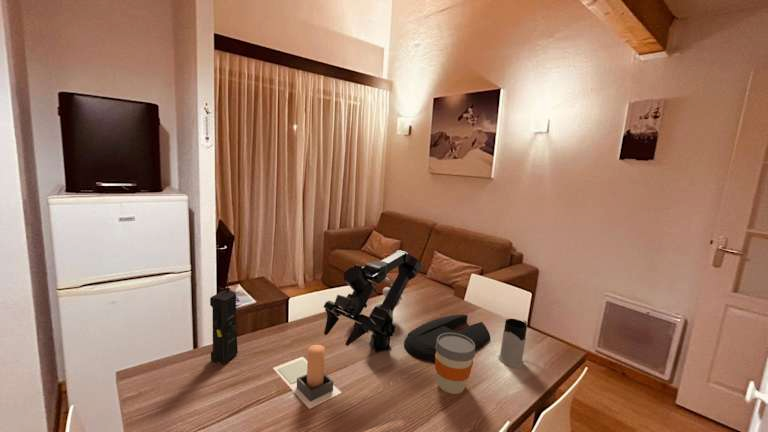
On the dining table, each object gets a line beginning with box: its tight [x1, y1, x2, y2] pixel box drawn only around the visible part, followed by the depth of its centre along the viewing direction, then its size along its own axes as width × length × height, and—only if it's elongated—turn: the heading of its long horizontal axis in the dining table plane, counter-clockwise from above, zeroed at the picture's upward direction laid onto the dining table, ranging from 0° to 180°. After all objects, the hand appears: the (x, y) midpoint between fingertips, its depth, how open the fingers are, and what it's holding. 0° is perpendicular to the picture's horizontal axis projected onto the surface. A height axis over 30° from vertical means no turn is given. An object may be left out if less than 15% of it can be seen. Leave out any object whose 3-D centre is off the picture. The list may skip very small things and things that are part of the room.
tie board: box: [272, 356, 342, 410], centre depth 106 cm, size 23×11×4 cm, turn 43°
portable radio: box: [209, 284, 239, 365], centre depth 114 cm, size 8×6×25 cm
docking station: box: [403, 314, 491, 363], centre depth 139 cm, size 25×40×5 cm, turn 132°
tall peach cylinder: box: [307, 344, 326, 390], centre depth 102 cm, size 5×5×13 cm
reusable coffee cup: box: [434, 333, 476, 395], centre depth 110 cm, size 13×13×15 cm
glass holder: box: [498, 318, 528, 368], centre depth 129 cm, size 9×14×15 cm, turn 135°
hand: (335, 339), depth 107 cm, fingers open, 9 cm apart
